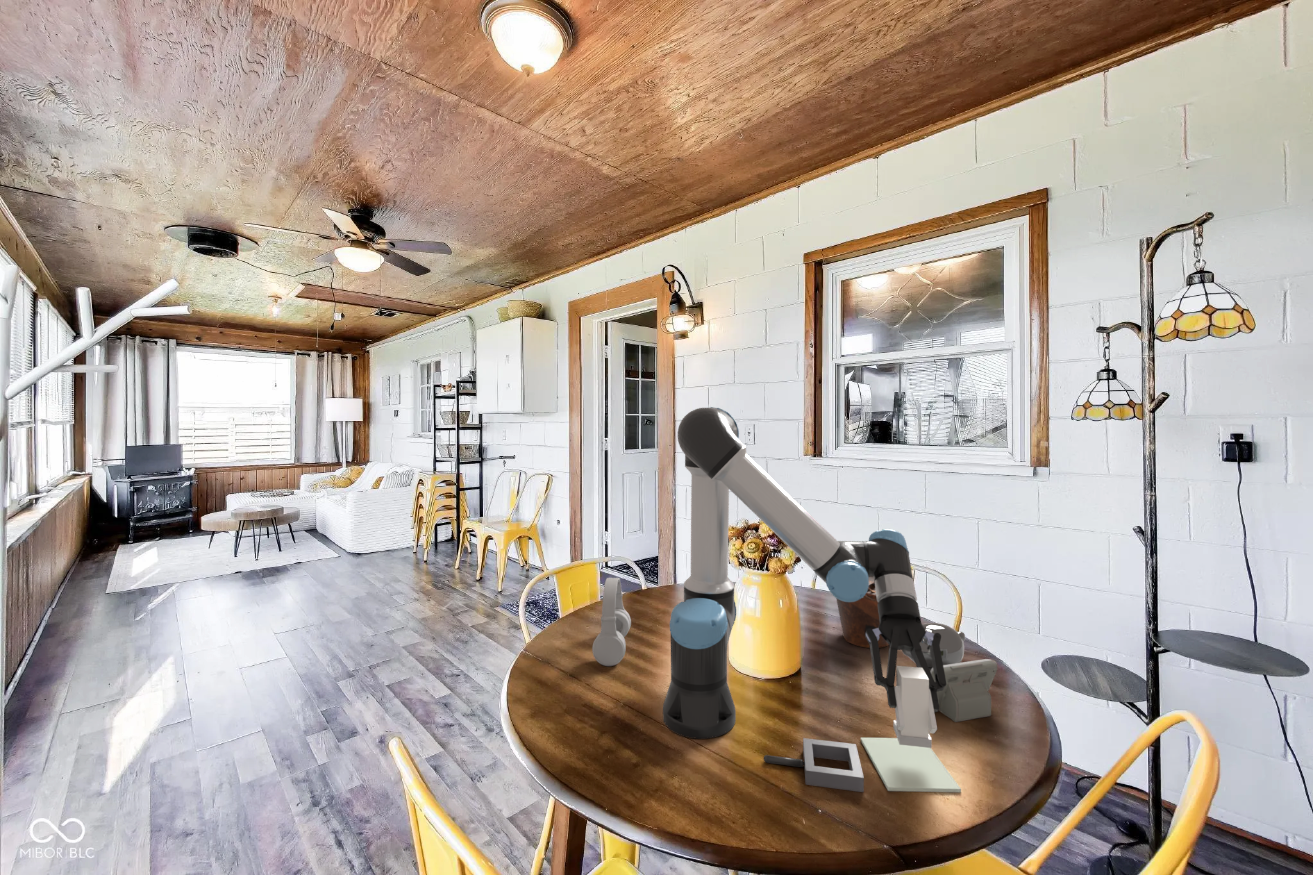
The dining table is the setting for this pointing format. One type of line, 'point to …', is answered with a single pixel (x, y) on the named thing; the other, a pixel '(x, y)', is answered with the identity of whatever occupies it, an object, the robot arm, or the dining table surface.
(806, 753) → the socket block
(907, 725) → the plug
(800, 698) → the dining table surface
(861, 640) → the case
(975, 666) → the digital clock
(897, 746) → the mat
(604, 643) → the headphones
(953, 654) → the piggy bank
